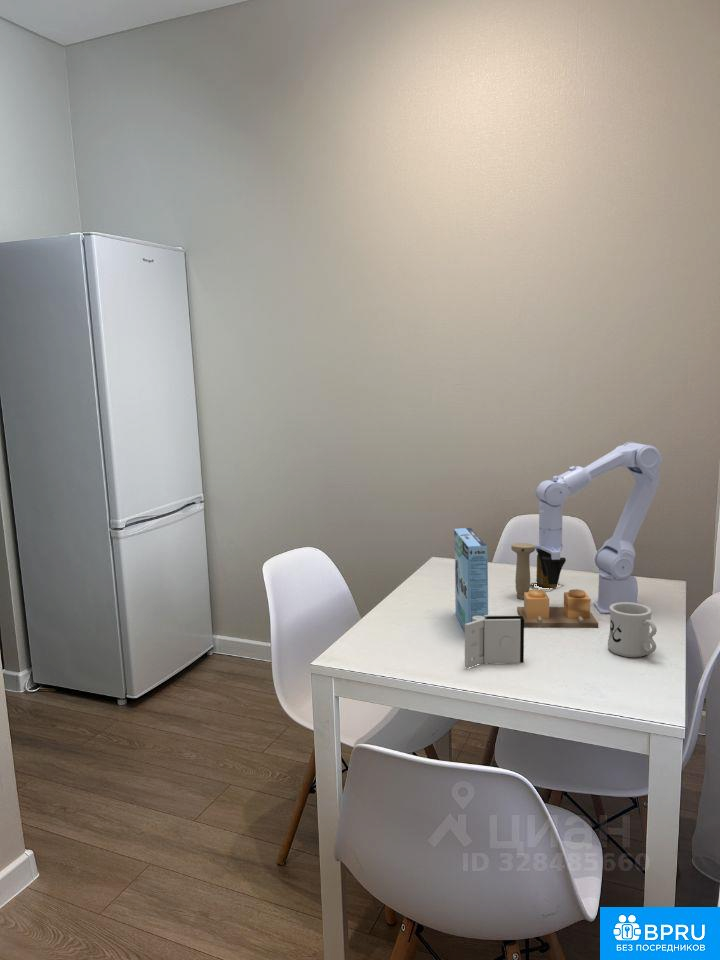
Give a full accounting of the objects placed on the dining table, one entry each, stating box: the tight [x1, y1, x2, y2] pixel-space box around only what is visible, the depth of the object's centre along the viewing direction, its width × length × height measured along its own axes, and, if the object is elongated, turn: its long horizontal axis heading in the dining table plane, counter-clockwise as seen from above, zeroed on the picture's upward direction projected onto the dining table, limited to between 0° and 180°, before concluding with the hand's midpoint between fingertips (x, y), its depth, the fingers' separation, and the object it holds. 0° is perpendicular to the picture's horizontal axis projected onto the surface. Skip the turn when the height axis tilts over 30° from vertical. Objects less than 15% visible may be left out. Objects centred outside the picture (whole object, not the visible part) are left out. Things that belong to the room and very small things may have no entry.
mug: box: [607, 602, 658, 658], centre depth 166 cm, size 12×9×10 cm
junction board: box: [516, 588, 599, 629], centre depth 189 cm, size 18×12×7 cm, turn 86°
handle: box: [510, 542, 536, 600], centre depth 205 cm, size 5×6×15 cm
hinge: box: [464, 614, 525, 668], centre depth 163 cm, size 14×5×10 cm, turn 101°
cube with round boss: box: [523, 588, 550, 618], centre depth 189 cm, size 5×5×6 cm
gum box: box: [453, 527, 489, 632], centre depth 184 cm, size 20×5×23 cm, turn 2°
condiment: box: [530, 554, 563, 592], centre depth 216 cm, size 7×8×12 cm
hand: (550, 579), depth 191 cm, fingers open, 7 cm apart
